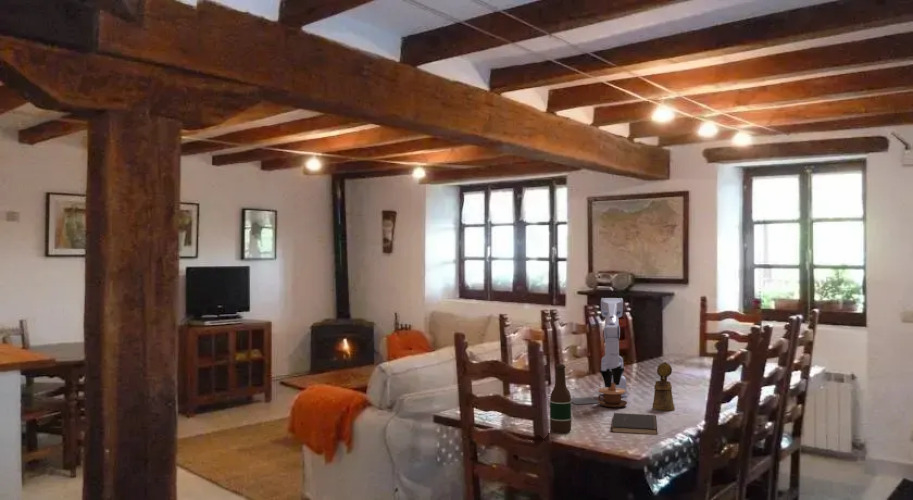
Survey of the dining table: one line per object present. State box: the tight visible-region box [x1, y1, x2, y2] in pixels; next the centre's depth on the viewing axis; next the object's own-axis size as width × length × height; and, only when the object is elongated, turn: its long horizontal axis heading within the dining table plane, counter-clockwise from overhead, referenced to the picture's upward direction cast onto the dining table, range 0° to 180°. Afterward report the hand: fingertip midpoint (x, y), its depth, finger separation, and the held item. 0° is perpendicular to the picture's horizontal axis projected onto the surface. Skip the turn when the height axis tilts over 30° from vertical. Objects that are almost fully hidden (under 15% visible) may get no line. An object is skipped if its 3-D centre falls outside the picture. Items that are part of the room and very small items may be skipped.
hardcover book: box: [611, 412, 659, 435], centre depth 266 cm, size 16×23×2 cm
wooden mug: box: [652, 361, 675, 412], centre depth 297 cm, size 9×14×18 cm, turn 158°
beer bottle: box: [549, 363, 572, 434], centre depth 258 cm, size 8×8×24 cm
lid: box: [598, 383, 625, 395], centre depth 300 cm, size 11×11×4 cm
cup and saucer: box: [597, 393, 628, 409], centre depth 300 cm, size 12×12×6 cm
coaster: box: [571, 396, 600, 406], centre depth 310 cm, size 12×12×1 cm
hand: (612, 385), depth 300 cm, fingers open, 6 cm apart
